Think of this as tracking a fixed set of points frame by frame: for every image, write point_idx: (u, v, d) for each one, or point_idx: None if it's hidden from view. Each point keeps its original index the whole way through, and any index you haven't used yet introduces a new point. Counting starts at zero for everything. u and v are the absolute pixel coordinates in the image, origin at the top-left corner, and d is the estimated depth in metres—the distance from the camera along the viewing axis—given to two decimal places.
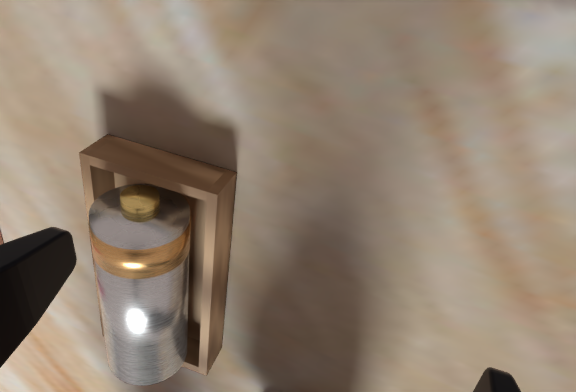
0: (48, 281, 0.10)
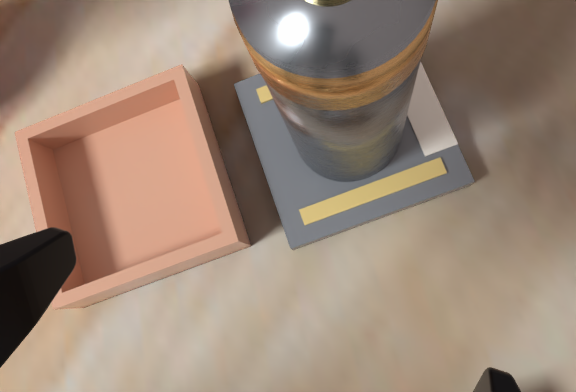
0: (48, 281, 0.10)
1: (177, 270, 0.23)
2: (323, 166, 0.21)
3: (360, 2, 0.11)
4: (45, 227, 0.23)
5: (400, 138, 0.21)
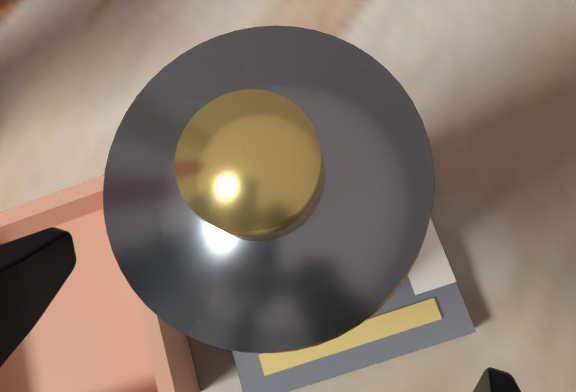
0: (48, 281, 0.10)
1: None
2: None
3: (304, 238, 0.07)
4: None
5: None
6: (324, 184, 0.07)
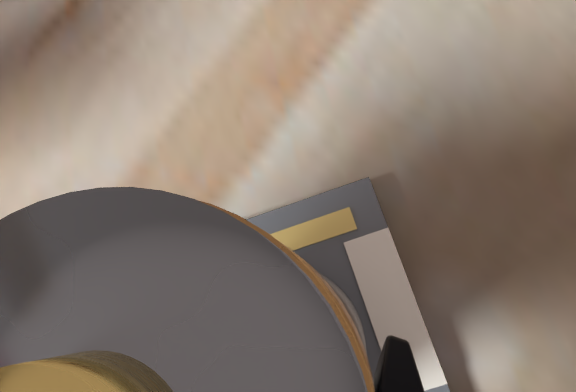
0: None
1: None
2: None
3: None
4: None
5: None
6: None
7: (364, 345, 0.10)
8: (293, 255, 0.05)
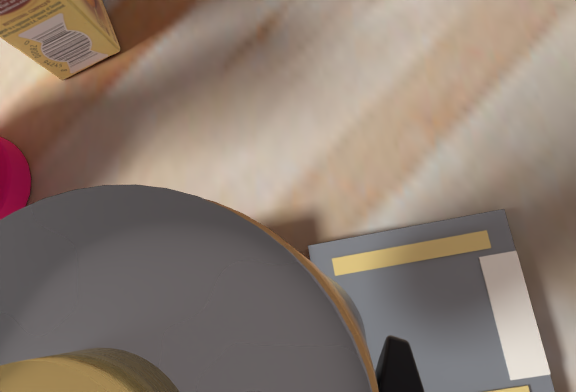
0: None
1: None
2: None
3: None
4: None
5: None
6: None
7: None
8: (297, 253, 0.05)
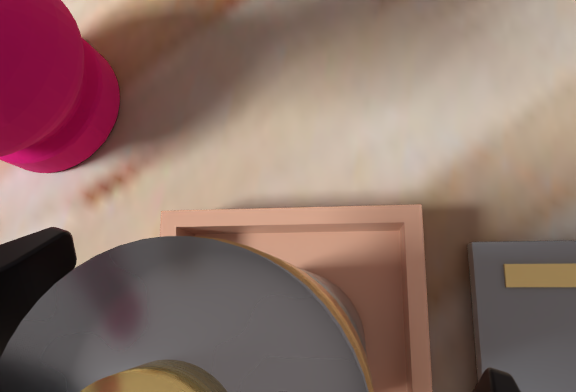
0: (48, 281, 0.10)
1: None
2: None
3: None
4: None
5: None
6: None
7: (364, 346, 0.11)
8: (311, 286, 0.07)
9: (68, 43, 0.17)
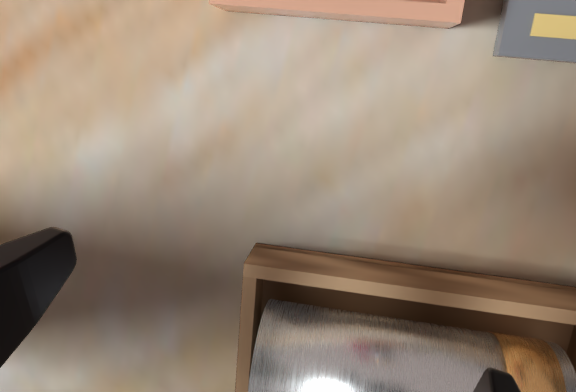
0: (48, 281, 0.10)
1: (356, 19, 0.19)
2: None
3: None
4: None
5: None
6: None
7: None
8: None
9: None
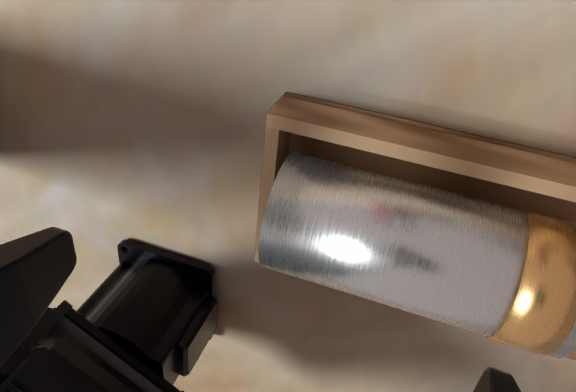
0: (48, 281, 0.10)
1: None
2: None
3: None
4: None
5: None
6: None
7: None
8: None
9: None
